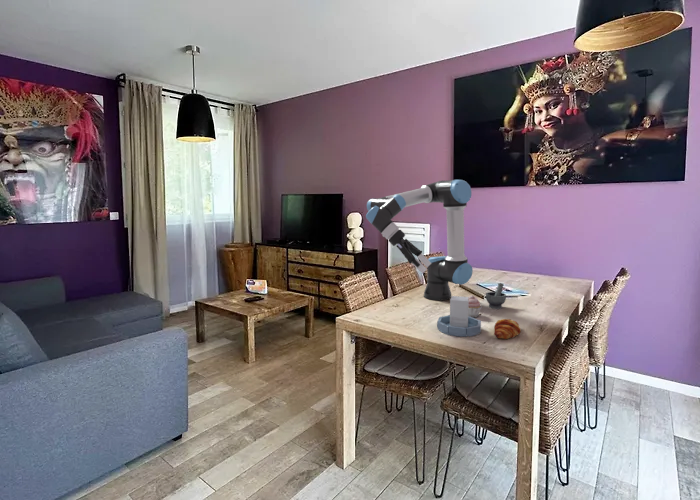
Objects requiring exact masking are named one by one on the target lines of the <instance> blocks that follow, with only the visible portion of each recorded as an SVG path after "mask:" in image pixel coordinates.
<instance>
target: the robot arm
mask: <svg viewBox="0 0 700 500" xmlns="http://www.w3.org/2000/svg"><path fill="white" fill-rule="evenodd" d="M471 198H472V188H471V185H470V184H469V183H468V182H467V181H465V180H463V179H452V180H449V179H448V180H439V181H435V182H431V183H429V184H425V185H422V186H421V187H420V188H417V189H413V190H407V191H404V192H400V193H395V194H391V195H387V196H383V197H379V198H376V197H375V198H370V199H369V200H368V201H367V202H366V209H367V211H368V212H367V213H366V214H365V218H366V220H367V221H368V222H369V223H370V224H371V226H373V227H374V228H375V229H376V230H377V231H378V232H379V233H380V234H381V235H382V237H383V238H385V240H388V243H390V245H392V246H393V247H395V246H396V247H397V249H398V250H399V251H400V252H401V254H402V255H403V256H404V258H405V260H407V261H408V263H409V264H412V265H413V266H414V267H415V268H416V269H417V270H418V271H419V272H420V273H421V274H423V275H424V273H425V272H426V273H427V282H426V283H427V284H426V286H425V288H424V291H423V292H424V293H423V298H425V299H427V300H432V301H448V300H450V299H451V297H452V291H451V287H450V285H449V283H452V284H455V285H465V284H467V283H468V282H469V281H470V279H472V276H473V271H474V270H473V266H472V265H471V263H469V262H468V257H467V256H466V254H465V216H464V215H465V213H464V211H465V208H466V207H467V205H468V203H469V201H470V200H471ZM423 203H424V204H431V203H442V204H443V209H445V210H446V237H447V238H446V241H447V242H446V246H447V255H446V256H445V255H443V256H439V255H438V256H430V257H428V258H427V257H426V256H425V255H424V254H423V250H420V249H419V248H418V247H417V246H416V245H414V244H413V243H412V242H410V240H408V239H407V238H405V236H406V233H404V231H403V230H402V229H399V227H400V226H398V225H397V224H396V223H394V221H393V220H392V219H394V218H395V217H396V216H397V215H398V214H400V213H401V212H402V211H403V210H404V208H407V207H410V206H414V205H418V204H423ZM404 238H405V239H404ZM415 256H416V257H415Z"/></svg>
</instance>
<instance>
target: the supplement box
mask: <svg viewBox="0 0 700 500" xmlns="http://www.w3.org/2000/svg"><path fill="white" fill-rule="evenodd" d="M469 297H470V296H460V295H459V296H457V295H451V299H449V315H450V326H454V327H463V328H467V327H468V306H469Z"/></svg>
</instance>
